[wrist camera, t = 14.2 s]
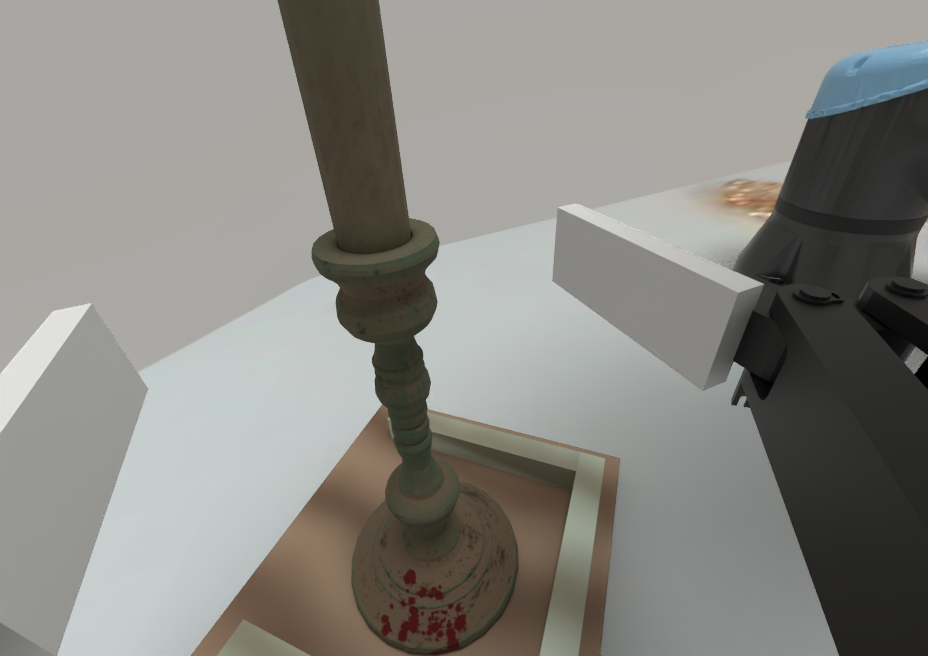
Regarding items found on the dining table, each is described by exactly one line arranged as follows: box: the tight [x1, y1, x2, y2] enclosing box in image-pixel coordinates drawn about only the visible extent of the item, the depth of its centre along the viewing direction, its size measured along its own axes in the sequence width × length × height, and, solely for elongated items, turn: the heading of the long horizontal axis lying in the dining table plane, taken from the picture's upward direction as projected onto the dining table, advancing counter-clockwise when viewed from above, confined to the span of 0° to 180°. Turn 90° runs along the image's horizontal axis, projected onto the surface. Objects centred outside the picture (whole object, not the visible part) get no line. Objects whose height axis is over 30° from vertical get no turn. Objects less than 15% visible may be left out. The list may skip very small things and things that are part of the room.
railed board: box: [191, 404, 620, 656], centre depth 23 cm, size 20×18×4 cm
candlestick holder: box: [278, 0, 518, 655], centre depth 14 cm, size 9×9×30 cm
